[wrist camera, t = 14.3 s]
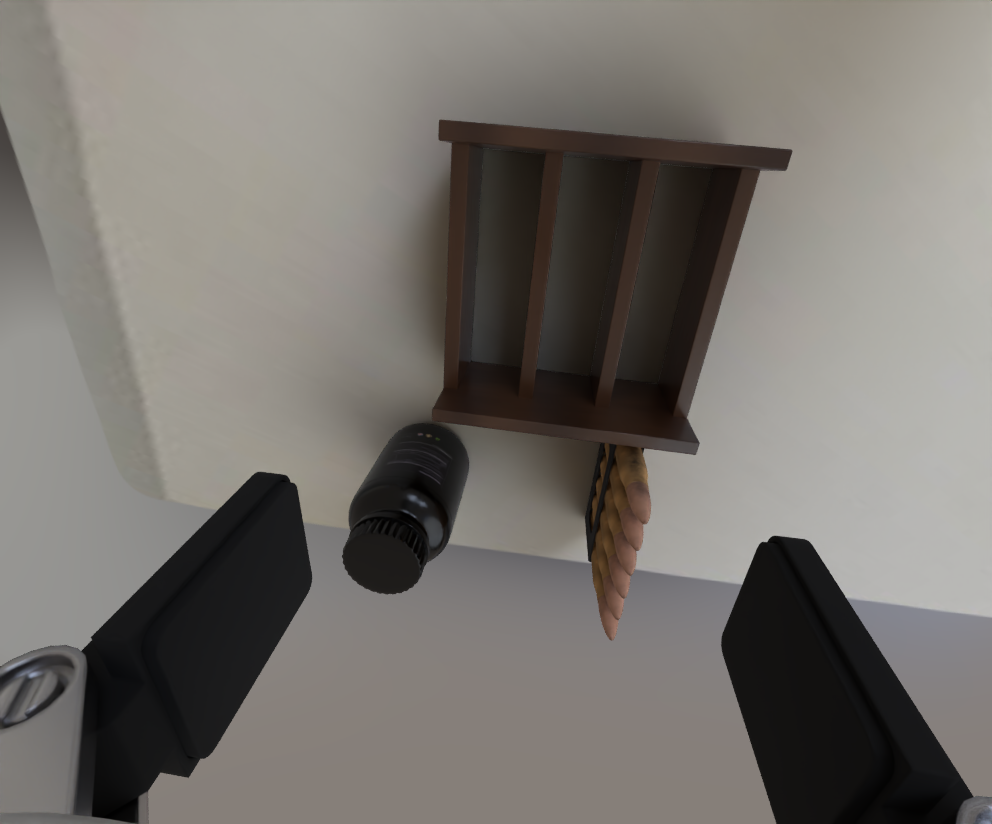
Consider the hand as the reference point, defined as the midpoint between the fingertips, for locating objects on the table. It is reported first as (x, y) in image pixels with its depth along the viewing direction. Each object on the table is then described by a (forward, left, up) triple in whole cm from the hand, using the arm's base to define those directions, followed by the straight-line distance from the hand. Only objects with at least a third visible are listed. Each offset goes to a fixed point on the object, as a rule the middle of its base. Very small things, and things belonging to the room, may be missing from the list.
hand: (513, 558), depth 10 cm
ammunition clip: (-6, +13, -25) cm, 29 cm away
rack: (-2, -1, -25) cm, 25 cm away
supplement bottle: (+8, +14, -25) cm, 30 cm away
